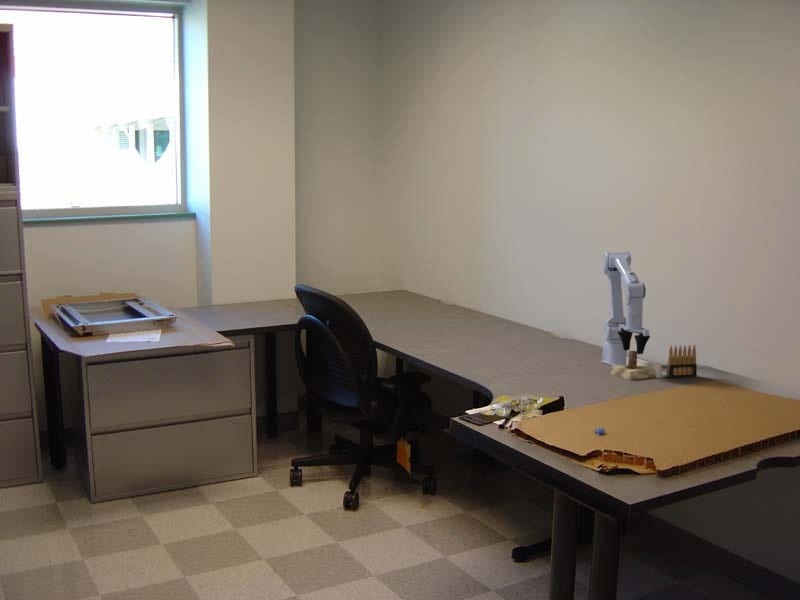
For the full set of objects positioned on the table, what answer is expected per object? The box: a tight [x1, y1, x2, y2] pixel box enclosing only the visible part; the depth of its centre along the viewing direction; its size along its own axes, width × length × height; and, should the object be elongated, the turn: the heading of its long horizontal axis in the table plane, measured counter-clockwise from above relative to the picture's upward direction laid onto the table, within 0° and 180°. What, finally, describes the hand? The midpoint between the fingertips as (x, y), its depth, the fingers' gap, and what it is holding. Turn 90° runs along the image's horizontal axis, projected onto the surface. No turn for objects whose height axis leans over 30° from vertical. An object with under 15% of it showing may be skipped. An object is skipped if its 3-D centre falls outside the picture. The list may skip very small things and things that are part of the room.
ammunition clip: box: [666, 344, 698, 380], centre depth 312 cm, size 11×2×12 cm, turn 97°
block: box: [610, 364, 656, 381], centre depth 317 cm, size 11×11×3 cm
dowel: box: [628, 350, 638, 369], centre depth 317 cm, size 3×3×9 cm
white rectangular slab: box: [626, 356, 667, 379], centre depth 322 cm, size 18×6×4 cm, turn 24°
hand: (633, 352), depth 316 cm, fingers open, 7 cm apart
